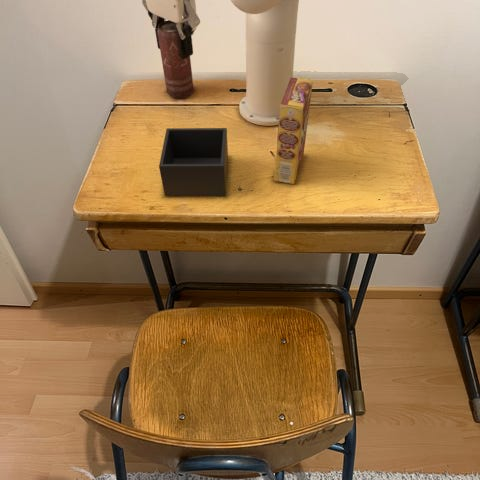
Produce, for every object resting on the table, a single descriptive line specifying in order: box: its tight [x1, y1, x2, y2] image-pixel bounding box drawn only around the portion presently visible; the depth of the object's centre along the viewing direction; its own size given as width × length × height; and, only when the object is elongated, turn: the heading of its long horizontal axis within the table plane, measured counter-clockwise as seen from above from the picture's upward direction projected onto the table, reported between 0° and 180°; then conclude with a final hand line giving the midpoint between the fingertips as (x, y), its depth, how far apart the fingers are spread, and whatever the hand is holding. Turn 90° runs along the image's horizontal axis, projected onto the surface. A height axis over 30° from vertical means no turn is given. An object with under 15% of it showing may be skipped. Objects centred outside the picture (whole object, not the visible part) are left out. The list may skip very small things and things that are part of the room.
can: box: [157, 20, 195, 100], centre depth 100 cm, size 6×6×14 cm
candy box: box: [273, 77, 314, 185], centre depth 82 cm, size 9×4×15 cm, turn 165°
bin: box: [158, 127, 229, 197], centre depth 85 cm, size 11×11×7 cm
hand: (175, 50), depth 98 cm, fingers closed on can, 6 cm apart
